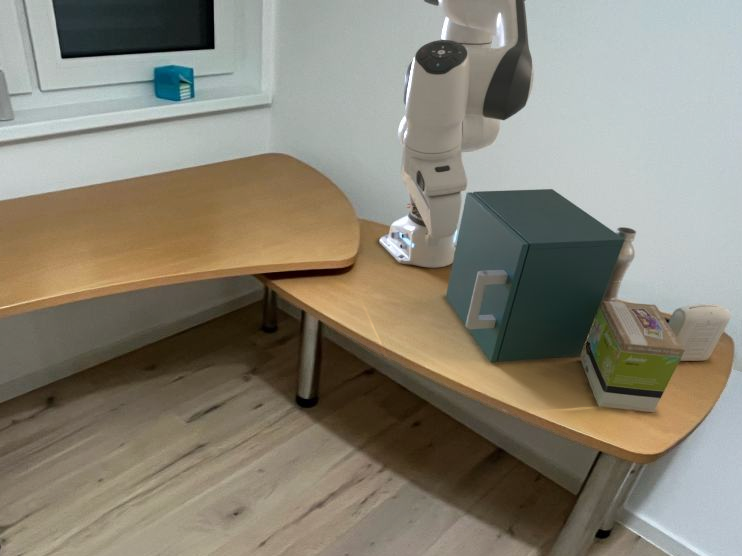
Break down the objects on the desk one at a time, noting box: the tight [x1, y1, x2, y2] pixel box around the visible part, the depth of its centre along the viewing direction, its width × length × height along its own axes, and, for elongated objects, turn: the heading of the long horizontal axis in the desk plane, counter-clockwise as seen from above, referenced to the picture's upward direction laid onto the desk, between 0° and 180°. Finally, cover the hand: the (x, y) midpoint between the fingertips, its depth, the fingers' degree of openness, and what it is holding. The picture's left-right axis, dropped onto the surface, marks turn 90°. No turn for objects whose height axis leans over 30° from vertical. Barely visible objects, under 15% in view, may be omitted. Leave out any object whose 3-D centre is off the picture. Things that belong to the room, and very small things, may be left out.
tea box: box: [580, 300, 685, 413], centre depth 105 cm, size 15×10×15 cm
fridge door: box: [445, 191, 529, 363], centre depth 118 cm, size 7×26×26 cm, turn 6°
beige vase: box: [597, 226, 637, 313], centre depth 127 cm, size 6×7×20 cm
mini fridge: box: [472, 188, 625, 363], centre depth 120 cm, size 18×26×26 cm
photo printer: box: [668, 303, 731, 362], centre depth 114 cm, size 10×4×12 cm, turn 93°
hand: (423, 227), depth 100 cm, fingers open, 8 cm apart
